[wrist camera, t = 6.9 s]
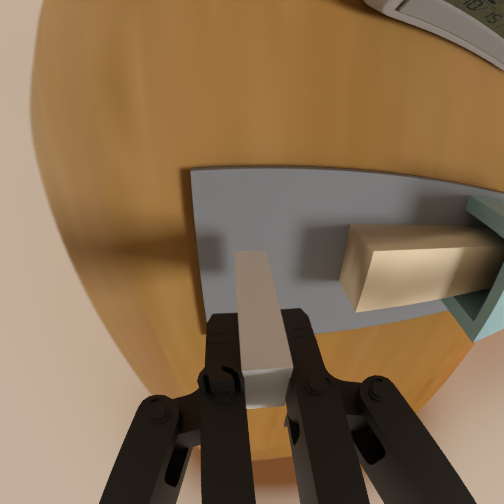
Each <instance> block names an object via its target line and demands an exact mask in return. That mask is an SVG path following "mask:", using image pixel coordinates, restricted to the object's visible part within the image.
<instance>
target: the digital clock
mask: <svg viewBox="0 0 504 504" xmlns="http://www.w3.org/2000/svg"><path fill="white" fill-rule="evenodd" d="M364 3H366V4H367V5H368V6H370V7H372V8H374V9H375V10H377V11H379V12H381V13H383V14H385V15H387V16H389V17H392V18H394V19H397V20H400V21H403V22H406V23H409V24H411V25H414V26H417V27H419V28H422V29H425V30H427V31H430V32H432V33H434V34H437V35H439V36H441V37H444V38H446V39H448V40H450V41H452V42H454V43H456V44H458V45H460V46H462V47H464V48H466V49H468V50H470V51H472V52H474V53H475V54H477V55H479V56H481V57H482V58H484V59H486V60H487V61H489V62H491V63H492V64H494V65H495V66H497V67H499V68H500V69H502V70H503V71H504V0H364Z"/></svg>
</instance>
